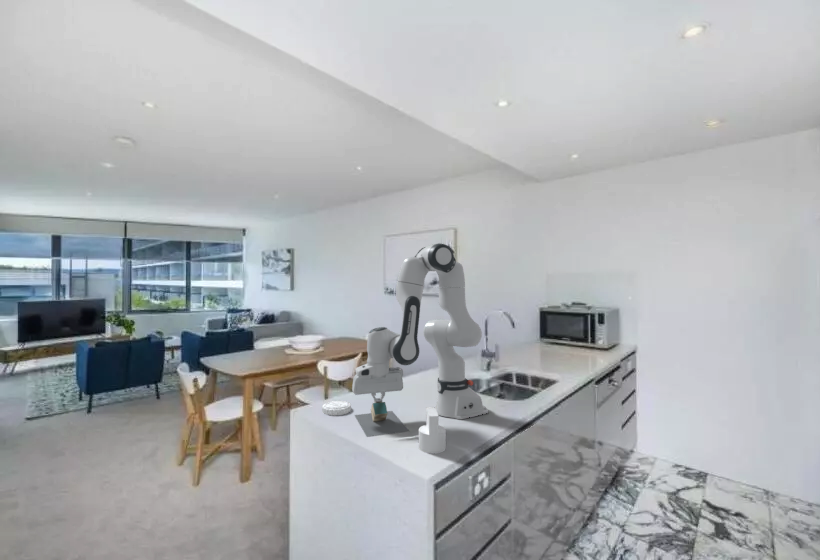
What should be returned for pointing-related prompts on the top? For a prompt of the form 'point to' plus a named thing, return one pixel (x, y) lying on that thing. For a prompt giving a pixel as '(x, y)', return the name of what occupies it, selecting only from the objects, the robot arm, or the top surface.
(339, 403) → the white mooncake
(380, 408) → the maple block
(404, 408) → the top surface
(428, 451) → the white cylinder with post
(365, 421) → the rubber mat
